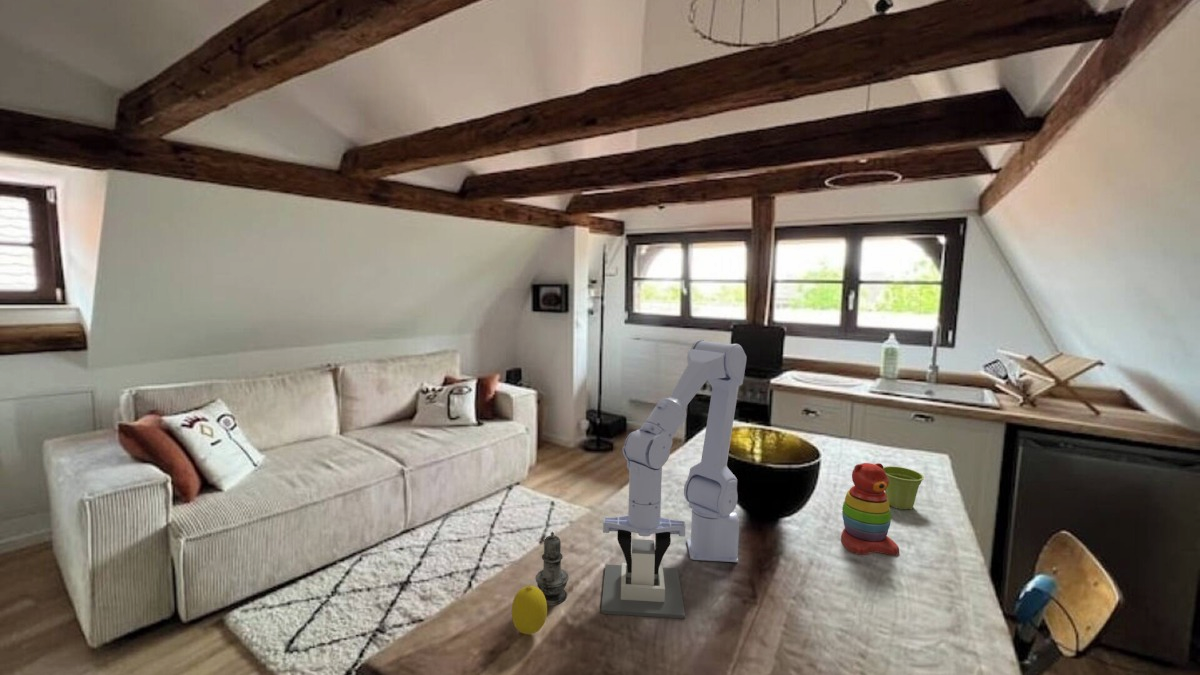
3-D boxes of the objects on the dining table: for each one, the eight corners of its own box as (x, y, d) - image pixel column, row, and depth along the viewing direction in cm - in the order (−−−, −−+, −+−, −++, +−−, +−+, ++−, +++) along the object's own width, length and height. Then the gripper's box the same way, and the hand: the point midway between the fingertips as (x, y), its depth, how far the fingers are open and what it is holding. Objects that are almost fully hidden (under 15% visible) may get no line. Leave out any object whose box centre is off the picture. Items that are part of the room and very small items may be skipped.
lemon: (513, 623, 82) (513, 576, 81) (547, 621, 83) (547, 575, 82) (509, 647, 77) (509, 597, 76) (546, 645, 77) (546, 596, 76)
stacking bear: (852, 555, 105) (858, 472, 103) (829, 531, 115) (834, 456, 113) (903, 555, 105) (910, 473, 104) (876, 532, 115) (882, 456, 114)
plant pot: (921, 503, 132) (923, 471, 131) (920, 516, 124) (924, 482, 123) (880, 494, 136) (882, 463, 136) (877, 507, 129) (880, 474, 128)
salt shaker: (563, 608, 86) (564, 541, 85) (530, 603, 87) (530, 537, 86) (572, 588, 92) (572, 525, 91) (541, 584, 93) (541, 522, 92)
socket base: (677, 571, 98) (678, 556, 98) (684, 618, 84) (685, 601, 84) (605, 567, 99) (605, 552, 99) (601, 613, 85) (601, 596, 85)
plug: (652, 576, 93) (653, 540, 93) (653, 589, 89) (654, 551, 89) (631, 575, 94) (632, 539, 93) (631, 587, 90) (632, 549, 89)
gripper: (602, 506, 86) (601, 581, 88) (688, 510, 85) (685, 585, 87) (605, 489, 93) (603, 559, 95) (684, 492, 92) (681, 563, 94)
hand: (642, 570), depth 91 cm, fingers open, 4 cm apart
